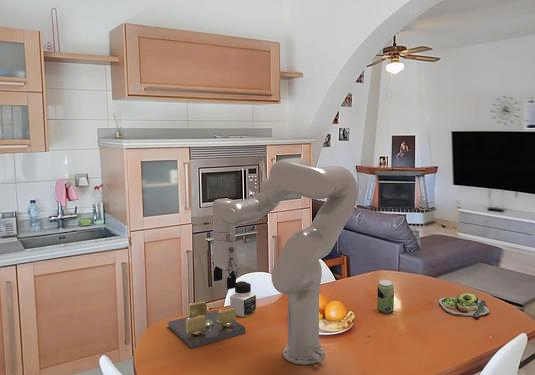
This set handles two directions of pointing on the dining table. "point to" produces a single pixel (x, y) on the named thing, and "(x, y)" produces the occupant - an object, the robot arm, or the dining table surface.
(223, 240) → the robot arm
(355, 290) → the dining table surface
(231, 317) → the knob
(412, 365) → the dining table surface
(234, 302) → the medicine bottle
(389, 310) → the beverage can
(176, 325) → the plate
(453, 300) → the salad plate
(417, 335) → the dining table surface
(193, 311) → the olive open box
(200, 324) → the knob
